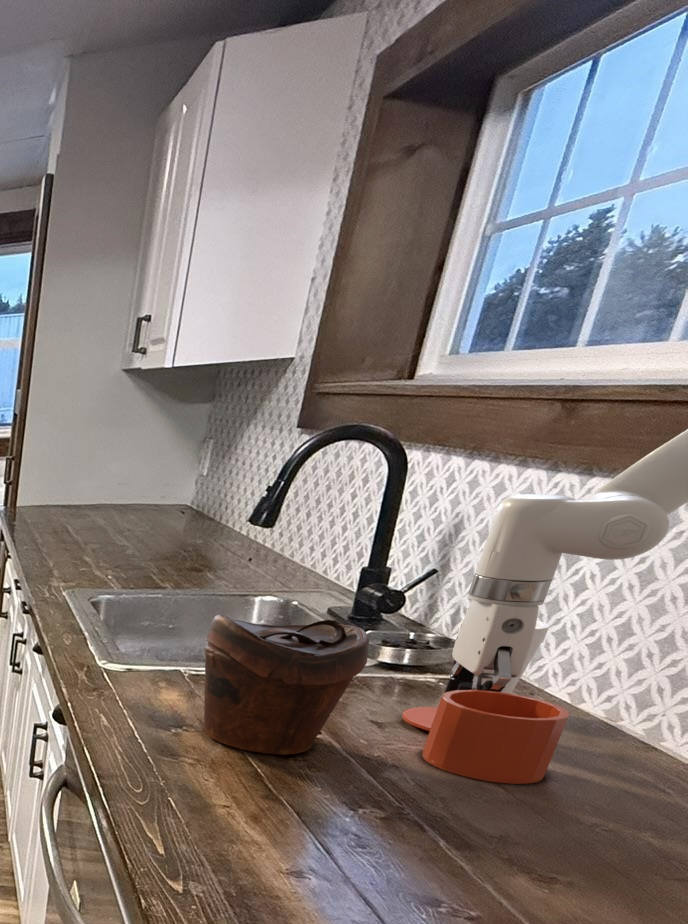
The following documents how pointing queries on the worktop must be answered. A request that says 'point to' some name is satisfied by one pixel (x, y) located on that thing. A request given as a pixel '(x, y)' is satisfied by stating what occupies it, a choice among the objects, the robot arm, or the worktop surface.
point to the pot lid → (427, 712)
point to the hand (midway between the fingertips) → (464, 712)
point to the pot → (494, 736)
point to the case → (277, 681)
